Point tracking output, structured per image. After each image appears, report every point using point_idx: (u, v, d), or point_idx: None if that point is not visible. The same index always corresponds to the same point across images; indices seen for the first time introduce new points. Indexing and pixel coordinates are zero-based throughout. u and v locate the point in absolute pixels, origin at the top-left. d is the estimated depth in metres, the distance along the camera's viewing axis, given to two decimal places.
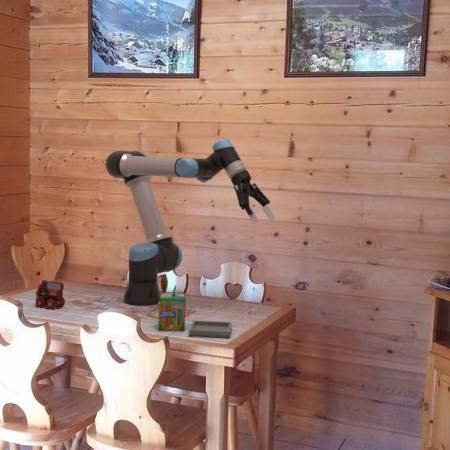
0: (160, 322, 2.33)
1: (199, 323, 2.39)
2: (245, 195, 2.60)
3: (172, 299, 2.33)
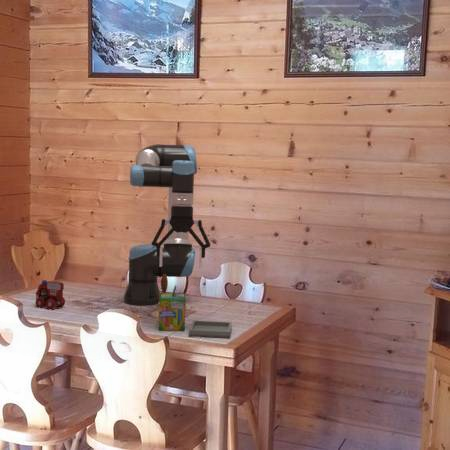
0: (160, 322, 2.33)
1: (199, 323, 2.39)
2: None
3: (172, 299, 2.33)
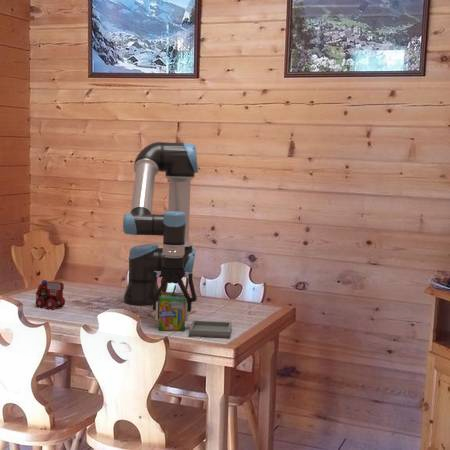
0: (160, 322, 2.33)
1: (199, 323, 2.39)
2: (160, 286, 2.36)
3: (172, 299, 2.32)
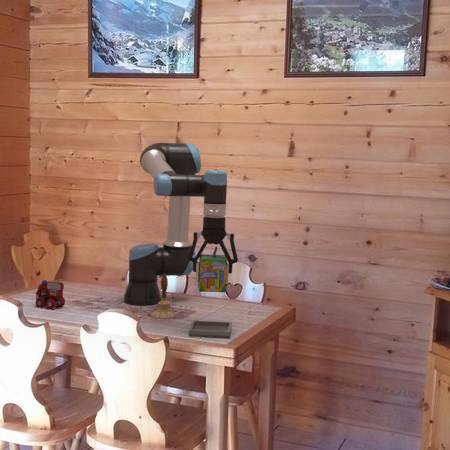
0: (201, 283, 2.27)
1: (199, 323, 2.39)
2: None
3: (213, 260, 2.26)
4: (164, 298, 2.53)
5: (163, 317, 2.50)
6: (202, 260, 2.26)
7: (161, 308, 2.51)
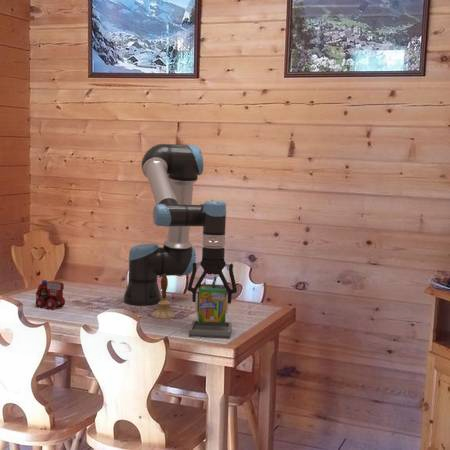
0: (200, 314, 2.28)
1: (199, 323, 2.39)
2: (200, 277, 2.31)
3: (213, 290, 2.27)
4: (164, 298, 2.53)
5: (163, 317, 2.50)
6: (201, 291, 2.27)
7: (161, 308, 2.51)
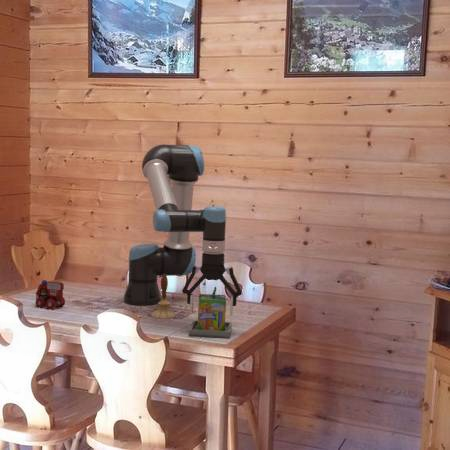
0: (200, 324, 2.29)
1: None
2: (197, 281, 2.31)
3: (212, 301, 2.28)
4: (164, 298, 2.53)
5: (163, 317, 2.50)
6: (201, 301, 2.28)
7: (161, 308, 2.51)
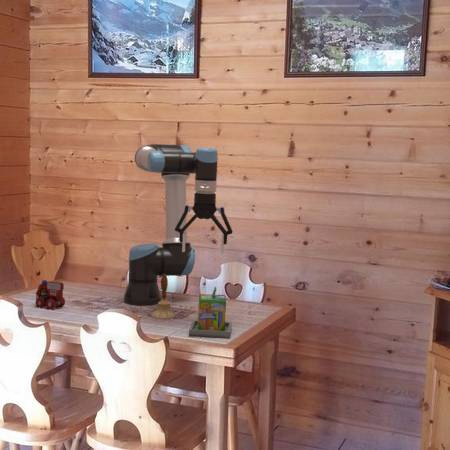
0: (200, 324, 2.29)
1: None
2: (189, 220, 2.40)
3: (212, 301, 2.28)
4: (164, 298, 2.53)
5: (163, 317, 2.50)
6: (201, 301, 2.28)
7: (161, 308, 2.51)
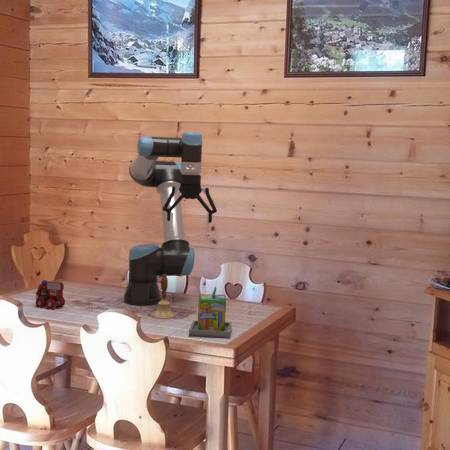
0: (200, 324, 2.29)
1: None
2: (176, 200, 2.55)
3: (212, 301, 2.28)
4: (164, 298, 2.53)
5: (163, 317, 2.50)
6: (201, 301, 2.28)
7: (161, 308, 2.51)
